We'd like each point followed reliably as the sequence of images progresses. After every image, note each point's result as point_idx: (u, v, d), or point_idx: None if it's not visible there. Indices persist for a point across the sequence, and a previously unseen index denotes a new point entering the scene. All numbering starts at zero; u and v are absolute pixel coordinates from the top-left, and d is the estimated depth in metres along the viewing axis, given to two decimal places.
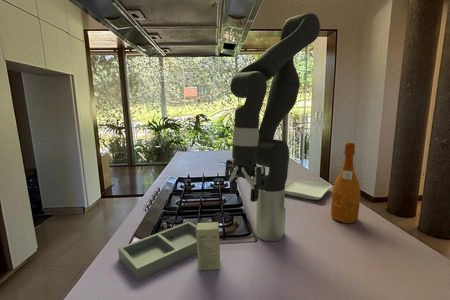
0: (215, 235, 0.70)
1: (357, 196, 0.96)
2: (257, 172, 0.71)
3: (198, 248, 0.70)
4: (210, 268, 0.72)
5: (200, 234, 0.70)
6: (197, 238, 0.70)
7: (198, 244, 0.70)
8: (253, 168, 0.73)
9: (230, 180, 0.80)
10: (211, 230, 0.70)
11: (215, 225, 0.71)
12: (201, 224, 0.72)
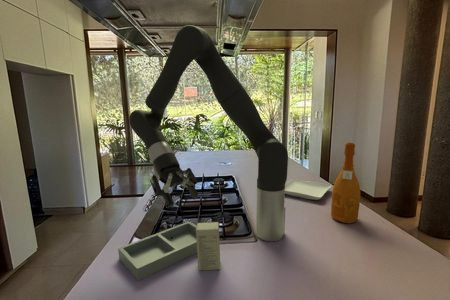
0: (215, 235, 0.70)
1: (357, 196, 0.96)
2: None
3: (198, 248, 0.70)
4: (210, 268, 0.72)
5: (200, 234, 0.70)
6: (197, 238, 0.70)
7: (198, 244, 0.70)
8: (158, 179, 0.80)
9: None
10: (211, 230, 0.70)
11: (215, 225, 0.71)
12: (201, 224, 0.72)
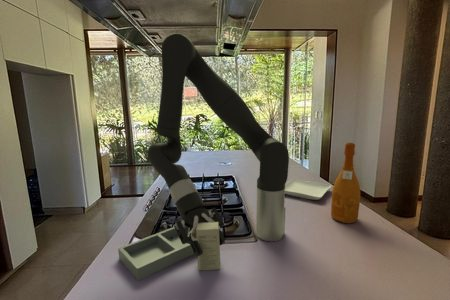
0: (216, 235, 0.70)
1: (357, 196, 0.96)
2: None
3: None
4: (210, 268, 0.72)
5: (200, 234, 0.70)
6: (197, 238, 0.70)
7: None
8: None
9: None
10: (211, 229, 0.70)
11: (215, 225, 0.71)
12: (201, 224, 0.72)
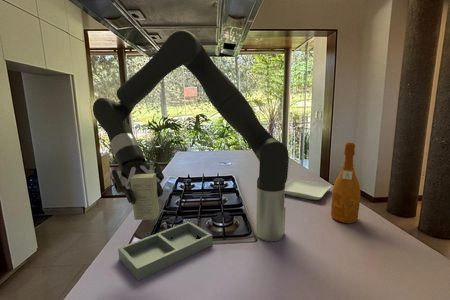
0: (150, 183, 0.70)
1: (357, 196, 0.96)
2: None
3: None
4: (146, 218, 0.72)
5: (134, 182, 0.70)
6: (131, 187, 0.70)
7: (133, 193, 0.71)
8: None
9: None
10: (145, 178, 0.70)
11: (150, 175, 0.72)
12: (138, 174, 0.73)
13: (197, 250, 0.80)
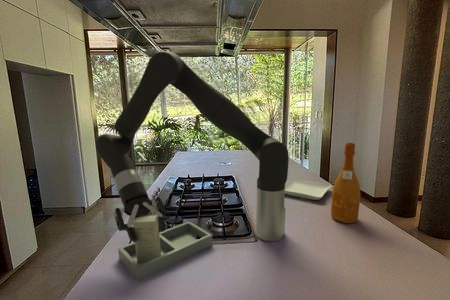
0: (152, 227, 0.73)
1: (357, 196, 0.96)
2: None
3: None
4: (148, 259, 0.74)
5: (137, 226, 0.72)
6: None
7: None
8: None
9: None
10: (147, 222, 0.72)
11: (152, 218, 0.74)
12: (140, 217, 0.75)
13: (197, 250, 0.80)
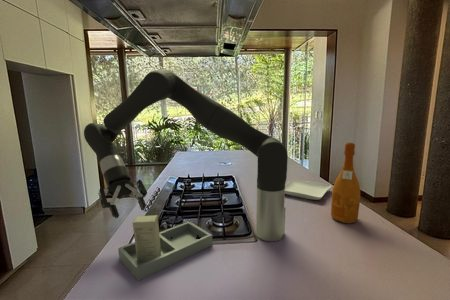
0: (152, 227, 0.73)
1: (357, 196, 0.96)
2: None
3: (135, 240, 0.73)
4: (148, 259, 0.74)
5: (137, 226, 0.72)
6: (134, 230, 0.73)
7: (135, 236, 0.73)
8: None
9: None
10: (147, 222, 0.72)
11: (152, 218, 0.74)
12: (140, 217, 0.75)
13: (197, 250, 0.80)
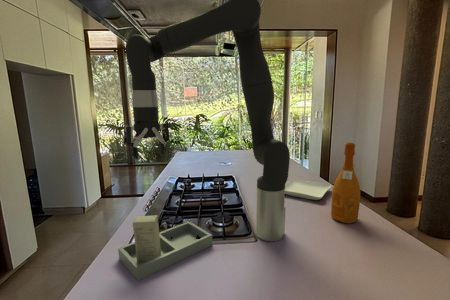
0: (152, 227, 0.73)
1: (357, 196, 0.96)
2: None
3: (135, 240, 0.73)
4: (148, 259, 0.74)
5: (137, 226, 0.72)
6: (134, 230, 0.73)
7: (135, 236, 0.73)
8: None
9: None
10: (147, 222, 0.72)
11: (152, 218, 0.74)
12: (140, 217, 0.75)
13: (197, 250, 0.80)
